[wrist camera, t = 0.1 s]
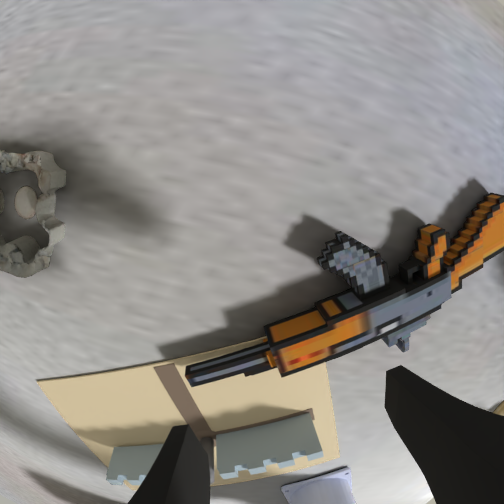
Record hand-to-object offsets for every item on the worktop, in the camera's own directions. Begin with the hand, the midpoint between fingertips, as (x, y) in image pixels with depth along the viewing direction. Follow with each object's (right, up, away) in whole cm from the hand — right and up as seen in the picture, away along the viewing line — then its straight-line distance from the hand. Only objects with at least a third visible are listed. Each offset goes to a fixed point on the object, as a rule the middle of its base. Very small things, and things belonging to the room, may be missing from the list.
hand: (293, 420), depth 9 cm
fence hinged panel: (-9, -11, +12) cm, 19 cm away
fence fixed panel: (-1, -9, +13) cm, 15 cm away
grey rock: (-18, +9, +7) cm, 21 cm away
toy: (+6, +3, +10) cm, 13 cm away
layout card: (-6, -10, +13) cm, 18 cm away
